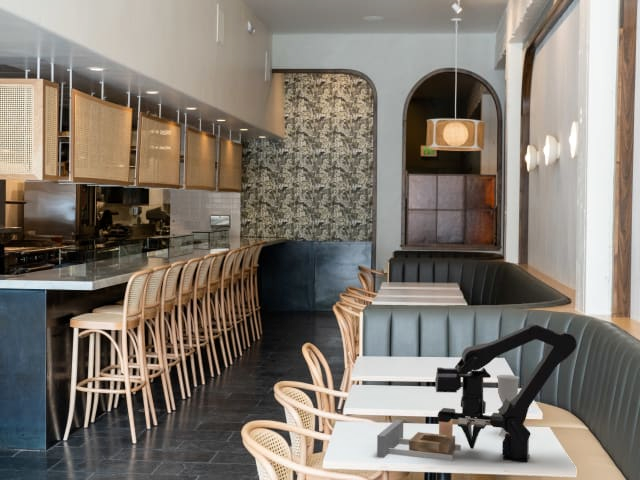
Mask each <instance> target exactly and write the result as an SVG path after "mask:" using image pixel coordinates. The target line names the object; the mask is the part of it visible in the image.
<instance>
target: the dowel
mask: <svg viewBox="0 0 640 480" xmlns="http://www.w3.org/2000/svg"><path fill="white" fill-rule="evenodd" d="M453 421H454V419H451V420H450V421H449V422H439V421H438V423H439V424H438V434H440V435H450V436H453V431H454V430H453V423H454V422H453Z"/></svg>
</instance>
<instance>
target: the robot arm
mask: <svg viewBox="0 0 640 480" xmlns="http://www.w3.org/2000/svg"><path fill="white" fill-rule="evenodd" d="M535 340H538V341H540V342H543V343H545V344H546V347H545V350H544V353H543V357H542V358H541V359H540V361H539V363H538V364H537V366H536V367H535V369H534V370H533V371H532V373H530V376H529V377H528V378H527V380H526V382H525V383H524V384H523V385H522V387H521V389H520V391H518V394H517V396H516V397H515V398H514V399H513V400H511V401H509V400H507V399H505V401H504V403H503V404H502V405H501V406H500V407H499V408H498V409H497V411H498V412H493V413H492V414H491V415H487V414H486V408H487V407H486V406H487V401H485V400H484V379H485V378H486V379H487V378H488V379H489V378H492V376H491V374H490V373H489V372H488V371H487V369H486V368H485V366H487V365H488V364H489V363H491V362H492V361H493V360H494V359H496V358H497V357H498V356H501V355H502V354H505V353H508V352H510V351H512V350H514V349H517V348H519V347H521V346H523V345H526V344H528V343H530V342H532V341H535ZM577 343H578V342H577V340H576V338H575V336H574V335H572V334H571V333H569V332H566V331H564V330H556V331H554V330H551V329H549V328H546V327H542V326H541V325H538V324H536V323H534V322H533V323H529V324H528V325H526V326H524V327H523V328H522V327H521V328H520V329H518V330H515V331H513V332H510V333H508V334H507V335H504V336H501V337H499V338H498V339H495V340H493V341H490V342H486V343H479V344H475V345H472V346H468V347H466V348H465V349H463V350H462V353H461V358H460V360H459V361H458V363H457V364H456V365H455V366H454V368H451V367H449V368H448V367H447V368H445V367H437V368H436V373H435V374H436V377H435V379H434V383H435V386H434V387H435V393H458V391H460V390H461V391H462V395H461V399H460V407H461V412H456V408H448V407H443V408H441V410H439V411H438V412H437V422H438V423H439V422H449V421H450V420H451V419H453V420H457V421H458V422H457V427H460V428H461V429H462V431H463V434H464V435H465V438H466V441H467V443H468V446H469V448H470V449H472V450H473V449H474V448H475V446H476V442H477V440H478V437H479V434H480V432H481V430H483V429H484V430H485V428H486V427H487V425H488V423H489V424H490V426H492V428H503V429H504V430H505V431H506V432H507V433H506V435H505V437H504V438H503V440H502V450H501V451H502V453H501V454H502V456H503V459H502V460H507V461H516V462H524V463H525V462H526V463H527V462H528V461H529V459H530V455H531V454H530V453H529V452H530V449H529V448H530V444H529V443H530V436H531V432H530V430H529V429H528V428H527V427H526V425H524V423H525V421H526V419H527V415H528V412H529V408H530V406H531V405H532V403H533V402H534V400H535V399H536V397H537V396H538V394H539V393H540V391H541V390H542V389H543V387H544V386H545V385H546V383H547V381H548V380H549V378H550V377H551V376H552V374H553V372H554V371H555V369H556V368H557V366H559V364H561V363H563V362H564V361H565V360H567V359H568V358H569V357H570V356H571V355H572V353H574V352H575V350H576V348H577ZM461 388H462V389H461ZM485 414H486V415H485ZM472 422H474V424H473V423H472ZM472 424H473V426H472Z"/></svg>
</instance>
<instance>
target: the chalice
mask: <svg viewBox="0 0 640 480" xmlns="http://www.w3.org/2000/svg"><path fill="white" fill-rule="evenodd" d="M496 379H497V394H498V397H499V400H500V403H501V404H502V405H503V403H504V401H505V399H507V400H509V401H511V400H513V399H514V398H515V397H516V396H517V395H518V393H519V391H518V390H519V389H518V388H519V380H520V376H517V375H514V374H513V375H512V374H497V375H496ZM506 433H507V432H506V431H505V430H504V429H503V428H501V429H500V430H499V433H498V435H499V436H500V437H504V438H505V435H506Z"/></svg>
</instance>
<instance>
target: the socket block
mask: <svg viewBox="0 0 640 480" xmlns="http://www.w3.org/2000/svg"><path fill="white" fill-rule="evenodd" d="M455 444H456V436H455V435H452V436H450V435H440V434H439V433H431V432H430V433H429V432H421V431H418V432H416V433H415V434H414V435H413V437H411V438H410V440H409V445H408V450H411V451H420V452H429V453H438V454H446V455H452V454H453V453H454V452H455V451H456V450H455Z"/></svg>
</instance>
